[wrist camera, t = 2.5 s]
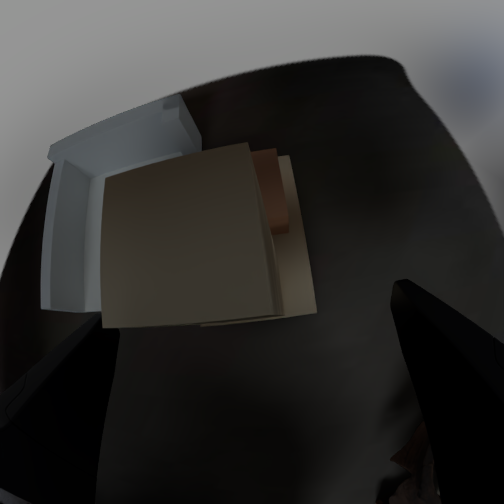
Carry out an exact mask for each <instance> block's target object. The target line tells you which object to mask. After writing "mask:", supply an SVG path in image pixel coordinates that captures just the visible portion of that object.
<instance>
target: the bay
mask: <svg viewBox="0 0 504 504" xmlns="http://www.w3.org/2000/svg"><path fill="white" fill-rule="evenodd" d="M200 151H202V137H201V135H200V133H199V131H198V129H197V127H196V125H195V123H194V121H193V119H192V117H191V115H190V113H189V111H188V109H187V107H186V105H185V103H184V101H183V99H182V97H181V95H180V94H177V95H174V96H170V97H167V98H164V99H160V100H157V101H154V102H151V103H148V104H145V105H142V106H139V107H136V108H134V109H131V110H128V111H126V112H123V113H120V114H118V115H116V116H113V117H110V118H108V119H105V120H103V121H100V122H98V123H96V124H94V125H91V126H89V127H87V128H85V129H82V130H80V131H78V132H76V133H74V134H72V135H70V136H68V137H66V138H64V139H62V140H60V141H58V142H56V143H54V144H52V145H51V146H50V150H49V153H48V159H49V160H51V161H52V162H54V163H55V166H54V170H53V175H52V180H51V185H50V191H49V197H48V203H47V210H46V217H45V225H44V234H43V246H42V261H41V309H46V310H55V311H65V312H76V313H79V312H96V311H101V290H100V242H101V220H102V206H103V194H104V185H105V178H106V177H109V176H112V175H116V174H119V173H122V172H125V171H128V170H132V169H135V168H138V167H142V166H145V165H149V164H152V163H156V162H160V161H164V160H167V159H171V158H175V157H179V156H183V155H187V154H192V153H196V152H200Z"/></svg>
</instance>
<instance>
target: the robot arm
mask: <svg viewBox="0 0 504 504" xmlns="http://www.w3.org/2000/svg"><path fill="white" fill-rule="evenodd" d="M390 307H391V311H392V315H393V319H394V322H395V326H396V330H397V334H398V338H399V342H400V346H401V350H402V353H403V356H404V359H405V362H406V365H407V368H408V371H409V373H410V376H411V379H412V382H413V386H414V389H415V392H416V395H417V398H418V402H419V405H420V408H421V412H422V415H423V419H424V422H425V426H426V430H427V434H428V438H429V442H430V446H431V450H432V454H433V459H434V464H435V467H436V474H437V479H438V485H439V491H440V497H441V504H504V344H503V343H502V342H500V341H499V340H498V339H496V338H495V337H494V338H493V336H492V335H491V334H489V333H488V332H486V331H485V330H484V329H482V328H481V327H479V326H478V325H477V324H475V323H474V322H472V321H471V320H469V319H468V318H467V317H465V316H464V315H462V314H461V313H459V312H458V311H456V310H455V309H453V308H452V307H450V306H449V305H447V304H446V303H444V302H443V301H441V300H440V299H438V298H437V297H435V296H434V295H432V294H431V293H429V292H427V291H426V290H424V289H423V288H421V287H420V286H418V285H416V284H415V283H413V282H412V281H410V280H408V279H403V280H397V281H395V282H394V285H393V290H392V296H391V302H390ZM119 338H120V332H119V329H118V328H103V326H102V313H97V314H95V315H94V316H93V317H92V318H90V319H89V320H88V321H87V322H85V323H84V324H83V325H82V326H80V327H79V328H78V329H77V330H76V331H74V332H73V333H72V334H71V335H70V336H68V337H67V338H66V339H65V340H64V341H62V342H61V343H60V344H59V345H58V346H56V347H55V348H54V349H53V350H52V351H51V352H49V353H48V354H47V355H46V356H45V357H44V358H42V359H41V360H40V361H39V362H38V363H37V364H36V365H34V366H33V367H32V368H31V369H30V370H29V371H28V372H26V373H25V374H24V375H23V376H22V377H21V378H20V379H19V380H17V381H16V382H15V383H14V384H13V385H12V386H11V387H9V388H8V389H7V390H6V391H4V392H3V393H2V394H1V395H0V504H95V493H96V481H97V470H98V462H99V454H100V447H101V440H102V434H103V428H104V422H105V417H106V411H107V406H108V401H109V396H110V391H111V387H112V382H113V377H114V372H115V365H116V358H117V351H118V344H119Z"/></svg>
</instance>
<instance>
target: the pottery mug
mask: <svg viewBox="0 0 504 504" xmlns="http://www.w3.org/2000/svg"><path fill="white" fill-rule="evenodd" d="M390 460H391V461H394V462H396V463H397V464H399V465H400V466H401V467H403V468H405V469H406V470H408V471H409V472H410V473H411V476H410V477H409V478H407V479H405V480H404V481H402V482H401V484H400V485H399V486H398V487H397V489H396V491H395V493H394V494H393V495H392V496H390V498H389V504H441V497H440V496H439V495H438V494H437V492H436V489H435V486H434V481H433V466H434V459H433V454H432V450H431V446H430V442H429V438H428V434H427V430H426V426H425V422H424V421H423V422H422V423H421V424H420V425H419V426H418V428H417V429H416V431H415V433H414V435H413V436H412V438H411V439H410V441H409V442H408V443H407V444H406V445H405V446H404V447H403V448H402V449H401V450H400V451H398V452H397V453H396V454H395V455H394V456H393V457H391V459H390ZM376 504H385V503H384V502H382V501H381V500H377V501H376Z"/></svg>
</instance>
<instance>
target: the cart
mask: <svg viewBox="0 0 504 504" xmlns="http://www.w3.org/2000/svg"><path fill="white" fill-rule="evenodd" d="M100 290H101V311H102V326H103V328H140V327H167V326H186V325H201V327H206V326H217V325H227V324H237V323H246V322H254V321H262V320H270V319H278V318H285V317H292V316H299V315H306V314H312V313H317V309H316V302H315V295H314V288H313V281H312V275H311V269H310V262H309V256H308V250H307V244H306V239H305V233H304V227H303V222H302V216H301V211H300V206H299V201H298V196H297V191H296V186H295V181H294V176H293V171H292V166H291V162H290V157H289V155H286V156H279V157H278V156H277V151H276V148H273V149H266V150H260V151H254V152H250V149H249V145H248V142H245V143H240V144H234V145H229V146H224V147H219V148H214V149H209V150H205V151H200V152H196V153H192V154H187V155H183V156H179V157H175V158H171V159H167V160H164V161H160V162H156V163H152V164H149V165H145V166H142V167H138V168H135V169H132V170H128V171H125V172H122V173H119V174H116V175H112V176H109V177H106V178H105V185H104V194H103V206H102V220H101V242H100Z"/></svg>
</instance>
